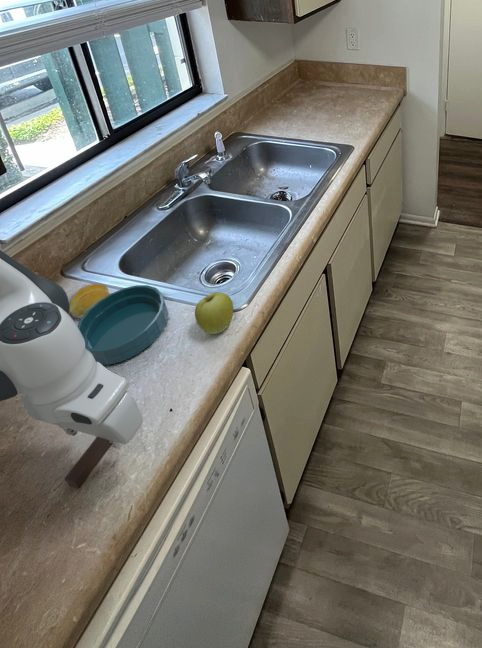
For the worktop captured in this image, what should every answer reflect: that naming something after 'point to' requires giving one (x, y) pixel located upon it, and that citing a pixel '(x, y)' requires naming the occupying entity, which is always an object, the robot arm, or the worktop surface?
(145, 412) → the worktop surface
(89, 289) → the bread roll
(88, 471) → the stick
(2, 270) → the robot arm
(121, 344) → the bowl
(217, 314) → the apple
